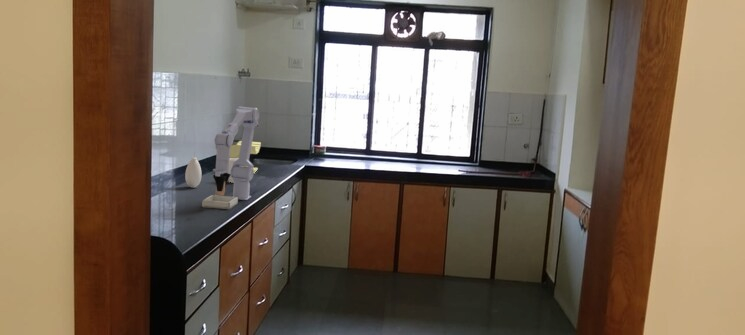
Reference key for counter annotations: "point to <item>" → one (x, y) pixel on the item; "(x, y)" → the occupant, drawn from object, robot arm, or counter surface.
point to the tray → (220, 202)
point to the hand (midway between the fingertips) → (221, 190)
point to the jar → (221, 191)
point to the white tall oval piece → (193, 173)
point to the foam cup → (231, 167)
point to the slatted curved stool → (236, 150)
